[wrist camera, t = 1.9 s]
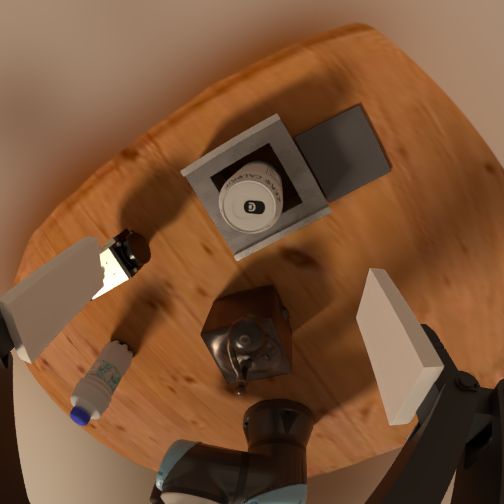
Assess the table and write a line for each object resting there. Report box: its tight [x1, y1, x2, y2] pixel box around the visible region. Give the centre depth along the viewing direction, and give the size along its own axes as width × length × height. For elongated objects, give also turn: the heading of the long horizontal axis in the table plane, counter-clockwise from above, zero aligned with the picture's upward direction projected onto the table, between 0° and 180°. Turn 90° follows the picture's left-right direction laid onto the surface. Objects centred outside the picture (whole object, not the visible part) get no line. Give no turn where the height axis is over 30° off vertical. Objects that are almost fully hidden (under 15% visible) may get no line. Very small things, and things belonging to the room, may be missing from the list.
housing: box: [180, 113, 332, 261], centre depth 37 cm, size 13×13×7 cm
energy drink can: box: [219, 160, 283, 233], centre depth 33 cm, size 6×6×15 cm
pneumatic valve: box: [90, 229, 151, 301], centre depth 40 cm, size 6×12×12 cm, turn 119°
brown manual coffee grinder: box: [201, 285, 292, 395], centre depth 39 cm, size 16×11×18 cm
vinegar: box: [150, 481, 165, 504], centre depth 63 cm, size 7×7×20 cm
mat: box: [294, 106, 391, 203], centre depth 37 cm, size 10×10×1 cm
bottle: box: [70, 340, 133, 426], centre depth 45 cm, size 7×7×20 cm
